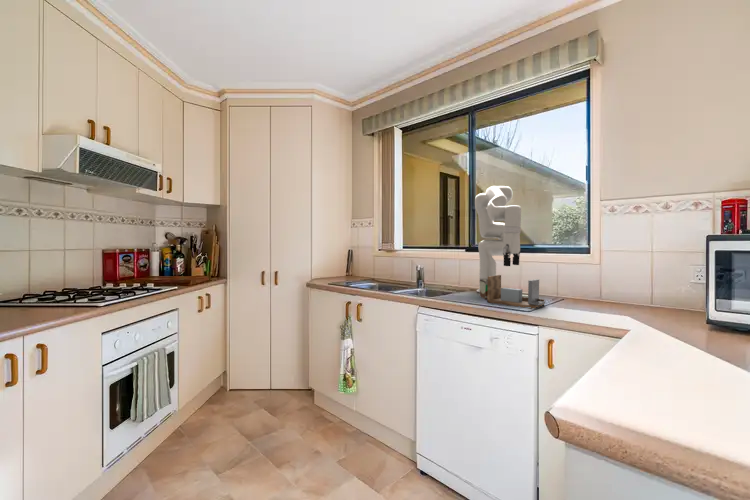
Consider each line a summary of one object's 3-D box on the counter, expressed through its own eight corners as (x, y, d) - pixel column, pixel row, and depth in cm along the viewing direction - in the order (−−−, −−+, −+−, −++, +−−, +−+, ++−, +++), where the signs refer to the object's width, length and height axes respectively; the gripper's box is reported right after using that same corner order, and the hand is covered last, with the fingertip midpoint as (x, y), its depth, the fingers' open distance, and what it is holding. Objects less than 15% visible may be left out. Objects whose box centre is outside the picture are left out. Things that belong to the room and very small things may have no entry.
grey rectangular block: (504, 299, 177) (504, 287, 177) (522, 301, 171) (522, 289, 171) (500, 300, 175) (500, 288, 174) (518, 302, 168) (518, 290, 168)
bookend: (535, 301, 169) (535, 279, 168) (545, 303, 165) (545, 280, 165) (528, 304, 163) (528, 280, 162) (538, 305, 159) (538, 281, 159)
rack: (498, 299, 184) (499, 274, 183) (544, 305, 167) (544, 278, 167) (487, 302, 175) (487, 276, 175) (534, 308, 159) (534, 280, 159)
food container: (497, 299, 183) (497, 280, 183) (485, 299, 183) (486, 280, 183) (490, 296, 195) (490, 278, 195) (479, 296, 195) (479, 278, 195)
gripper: (512, 231, 181) (511, 264, 181) (496, 230, 169) (495, 266, 169) (527, 231, 175) (526, 265, 176) (511, 230, 163) (511, 267, 164)
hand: (511, 265), depth 173 cm, fingers open, 9 cm apart
